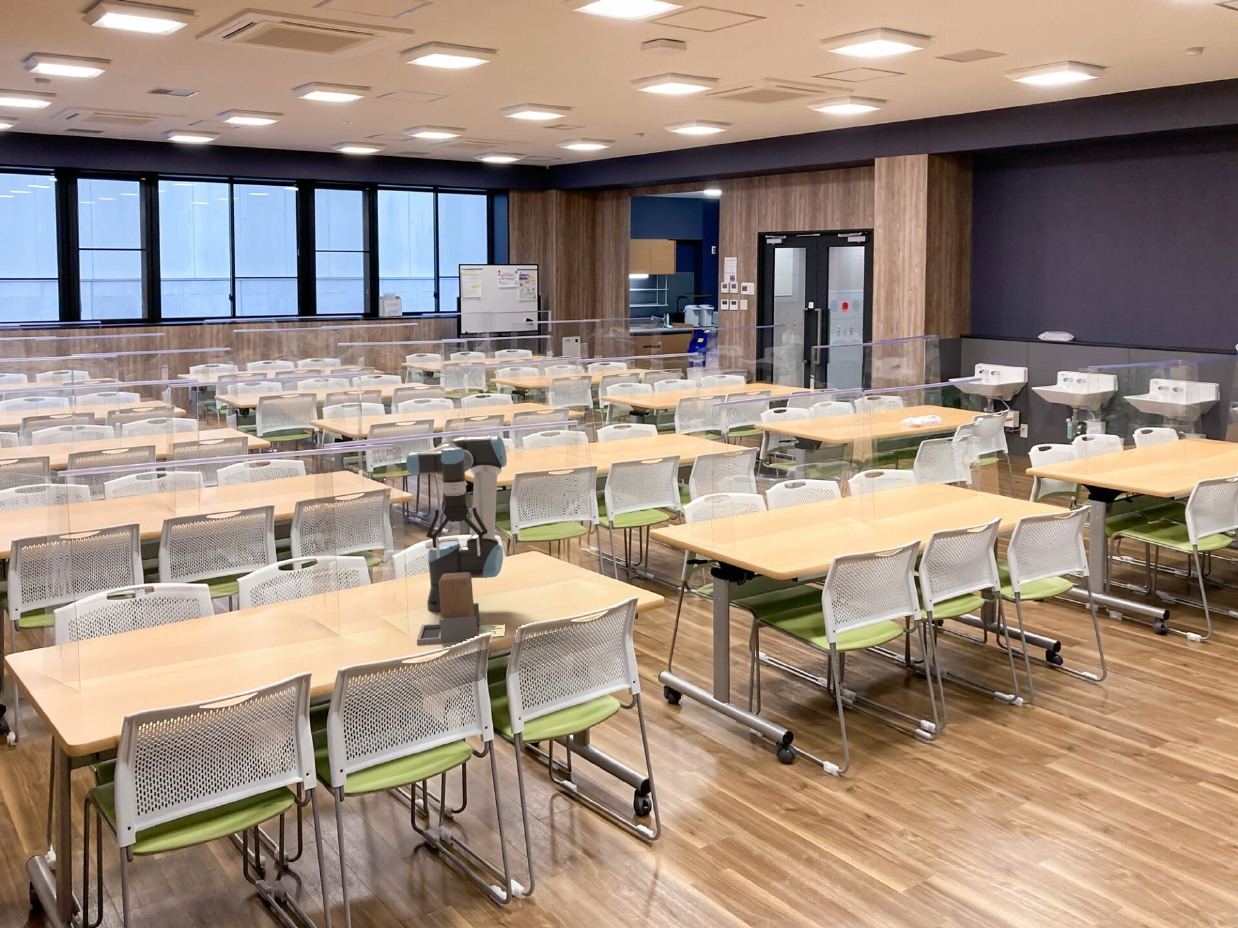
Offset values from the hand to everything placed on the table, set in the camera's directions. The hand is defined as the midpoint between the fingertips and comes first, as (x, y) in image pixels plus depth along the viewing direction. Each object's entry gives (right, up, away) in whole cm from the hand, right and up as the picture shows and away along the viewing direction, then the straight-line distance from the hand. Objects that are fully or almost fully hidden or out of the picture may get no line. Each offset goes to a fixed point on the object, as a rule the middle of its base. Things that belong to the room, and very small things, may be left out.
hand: (458, 556), depth 394 cm
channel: (0, -27, +3) cm, 27 cm away
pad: (+11, -26, +4) cm, 28 cm away
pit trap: (-10, -27, +3) cm, 29 cm away
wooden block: (0, -27, +4) cm, 27 cm away
